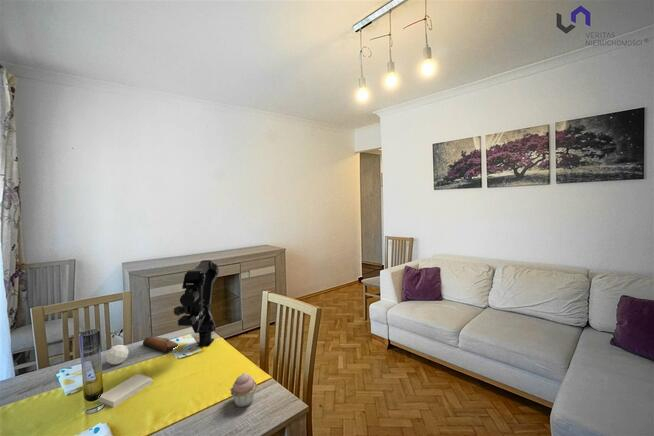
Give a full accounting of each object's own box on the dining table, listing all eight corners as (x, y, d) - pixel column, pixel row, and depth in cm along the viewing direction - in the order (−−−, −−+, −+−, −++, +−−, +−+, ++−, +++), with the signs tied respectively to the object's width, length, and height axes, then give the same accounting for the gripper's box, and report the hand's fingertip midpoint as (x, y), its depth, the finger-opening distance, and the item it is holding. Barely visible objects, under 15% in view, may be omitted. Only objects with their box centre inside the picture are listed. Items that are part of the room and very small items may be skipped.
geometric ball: (112, 370, 120) (101, 355, 120) (131, 355, 126) (121, 342, 126) (114, 368, 115) (102, 353, 115) (134, 353, 121) (123, 339, 121)
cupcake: (258, 390, 103) (258, 364, 103) (256, 408, 94) (256, 380, 94) (232, 393, 102) (232, 367, 101) (227, 412, 93) (227, 383, 92)
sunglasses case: (182, 345, 136) (176, 337, 132) (171, 358, 130) (164, 350, 127) (159, 337, 143) (152, 329, 140) (147, 350, 138) (140, 342, 135)
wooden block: (138, 373, 110) (98, 396, 97) (152, 378, 108) (113, 402, 95) (138, 379, 111) (98, 402, 97) (152, 383, 108) (113, 408, 95)
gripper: (188, 291, 133) (189, 323, 133) (164, 305, 114) (165, 342, 115) (211, 291, 132) (212, 323, 133) (191, 306, 114) (191, 343, 114)
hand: (196, 332), depth 124 cm, fingers closed
